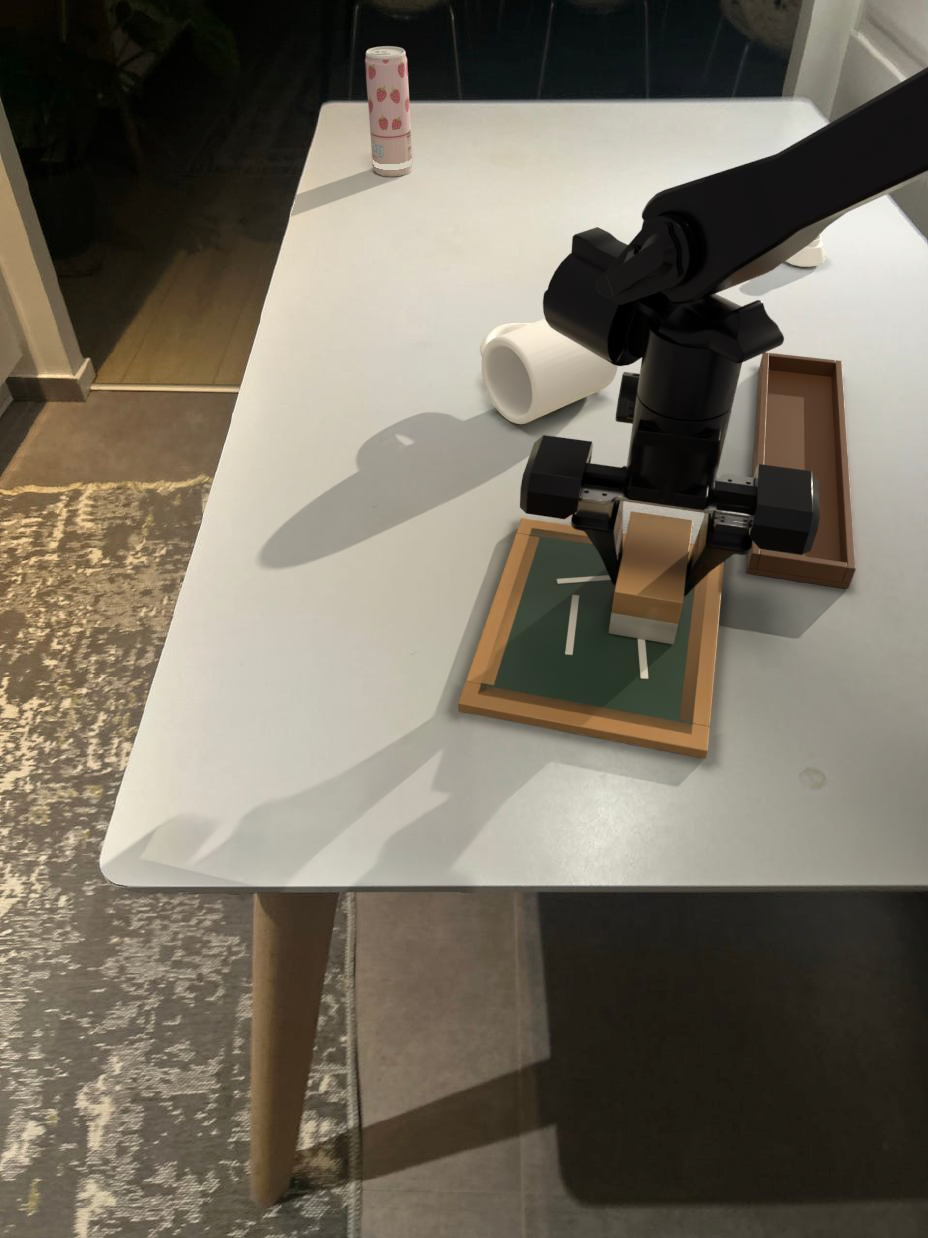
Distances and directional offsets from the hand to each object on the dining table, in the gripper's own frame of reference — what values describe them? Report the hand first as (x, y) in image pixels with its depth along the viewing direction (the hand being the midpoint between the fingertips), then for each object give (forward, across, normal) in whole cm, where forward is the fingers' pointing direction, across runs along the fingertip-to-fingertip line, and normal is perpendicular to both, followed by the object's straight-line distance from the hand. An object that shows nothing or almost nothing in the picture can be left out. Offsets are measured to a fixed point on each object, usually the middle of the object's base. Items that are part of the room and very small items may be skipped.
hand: (649, 586), depth 66 cm
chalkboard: (+2, +3, +3) cm, 5 cm away
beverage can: (+2, +45, -82) cm, 94 cm away
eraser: (+1, 0, 0) cm, 1 cm away
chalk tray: (+2, -11, -21) cm, 23 cm away
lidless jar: (+2, -11, -64) cm, 65 cm away
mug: (+2, +14, -27) cm, 30 cm away
